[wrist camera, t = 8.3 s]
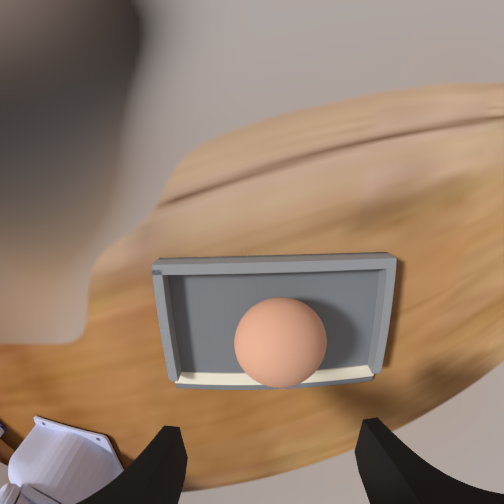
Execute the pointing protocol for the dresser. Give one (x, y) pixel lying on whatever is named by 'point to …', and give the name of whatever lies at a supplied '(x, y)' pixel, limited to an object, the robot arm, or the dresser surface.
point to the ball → (280, 342)
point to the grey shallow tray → (265, 287)
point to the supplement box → (2, 429)
